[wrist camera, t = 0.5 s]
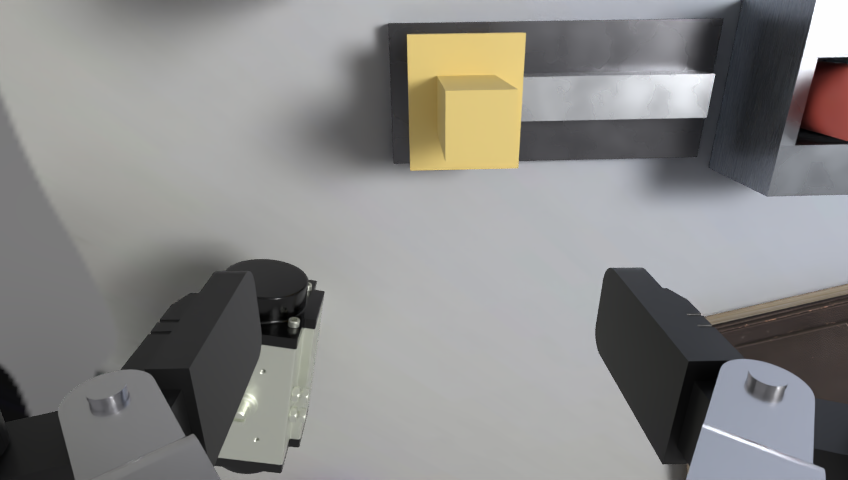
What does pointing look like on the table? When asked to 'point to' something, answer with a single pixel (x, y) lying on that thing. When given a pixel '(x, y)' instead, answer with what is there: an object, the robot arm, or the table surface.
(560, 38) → the rail
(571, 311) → the table surface
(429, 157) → the yellow flanged block
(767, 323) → the hardcover book
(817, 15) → the grey button housing
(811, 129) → the button
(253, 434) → the pneumatic valve
